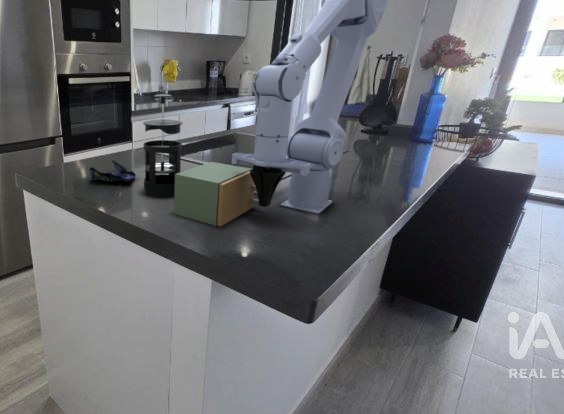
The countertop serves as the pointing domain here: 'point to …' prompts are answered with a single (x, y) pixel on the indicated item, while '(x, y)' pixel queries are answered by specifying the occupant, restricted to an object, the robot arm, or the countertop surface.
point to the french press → (162, 183)
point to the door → (236, 198)
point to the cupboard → (202, 190)
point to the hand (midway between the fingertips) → (264, 204)
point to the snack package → (117, 176)
